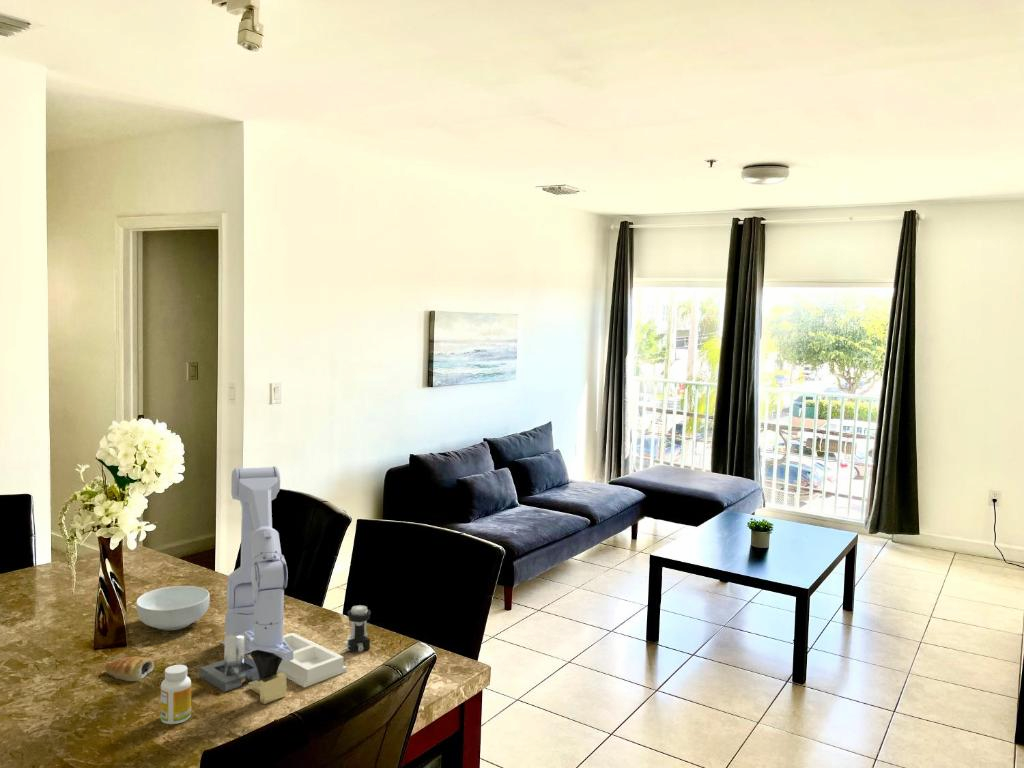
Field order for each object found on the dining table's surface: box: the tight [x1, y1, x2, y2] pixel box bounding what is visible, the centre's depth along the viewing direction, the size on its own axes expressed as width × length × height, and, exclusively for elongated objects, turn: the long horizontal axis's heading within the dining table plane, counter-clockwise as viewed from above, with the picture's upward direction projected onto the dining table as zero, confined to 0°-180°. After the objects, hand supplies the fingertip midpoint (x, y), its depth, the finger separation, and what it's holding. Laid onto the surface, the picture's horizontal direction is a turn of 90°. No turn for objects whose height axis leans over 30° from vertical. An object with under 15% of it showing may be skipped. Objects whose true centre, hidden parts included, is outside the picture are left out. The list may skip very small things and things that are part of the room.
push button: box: [341, 604, 372, 653], centre depth 188 cm, size 7×5×10 cm
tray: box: [276, 632, 348, 688], centre depth 179 cm, size 19×11×4 cm, turn 50°
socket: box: [199, 654, 260, 693], centre depth 172 cm, size 10×10×2 cm
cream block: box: [247, 672, 287, 705], centre depth 165 cm, size 8×5×4 cm, turn 50°
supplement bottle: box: [160, 664, 192, 725], centre depth 154 cm, size 5×5×10 cm
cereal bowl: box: [135, 585, 211, 631], centre depth 199 cm, size 17×17×7 cm
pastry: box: [104, 655, 155, 682], centre depth 172 cm, size 9×7×4 cm
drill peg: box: [223, 632, 245, 676], centre depth 172 cm, size 4×4×9 cm
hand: (267, 684), depth 164 cm, fingers closed
